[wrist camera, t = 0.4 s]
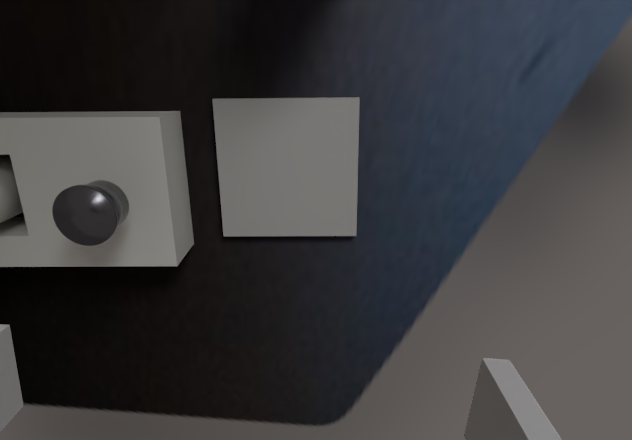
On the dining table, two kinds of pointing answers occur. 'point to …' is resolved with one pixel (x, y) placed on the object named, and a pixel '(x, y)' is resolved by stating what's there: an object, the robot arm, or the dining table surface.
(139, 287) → the dining table surface
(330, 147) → the mat
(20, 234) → the housing
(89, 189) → the plunger
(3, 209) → the cartridge
